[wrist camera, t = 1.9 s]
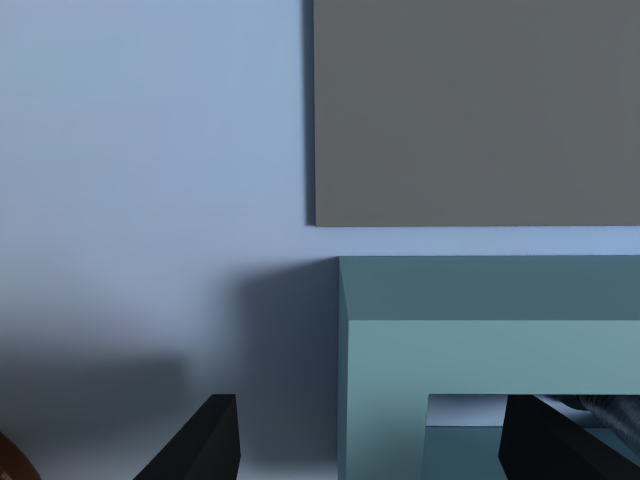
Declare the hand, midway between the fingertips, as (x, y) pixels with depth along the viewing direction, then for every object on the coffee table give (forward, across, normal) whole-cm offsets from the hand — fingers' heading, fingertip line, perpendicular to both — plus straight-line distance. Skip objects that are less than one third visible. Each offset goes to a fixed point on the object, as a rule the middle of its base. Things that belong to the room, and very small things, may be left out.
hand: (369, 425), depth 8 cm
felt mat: (+2, -5, -9) cm, 11 cm away
